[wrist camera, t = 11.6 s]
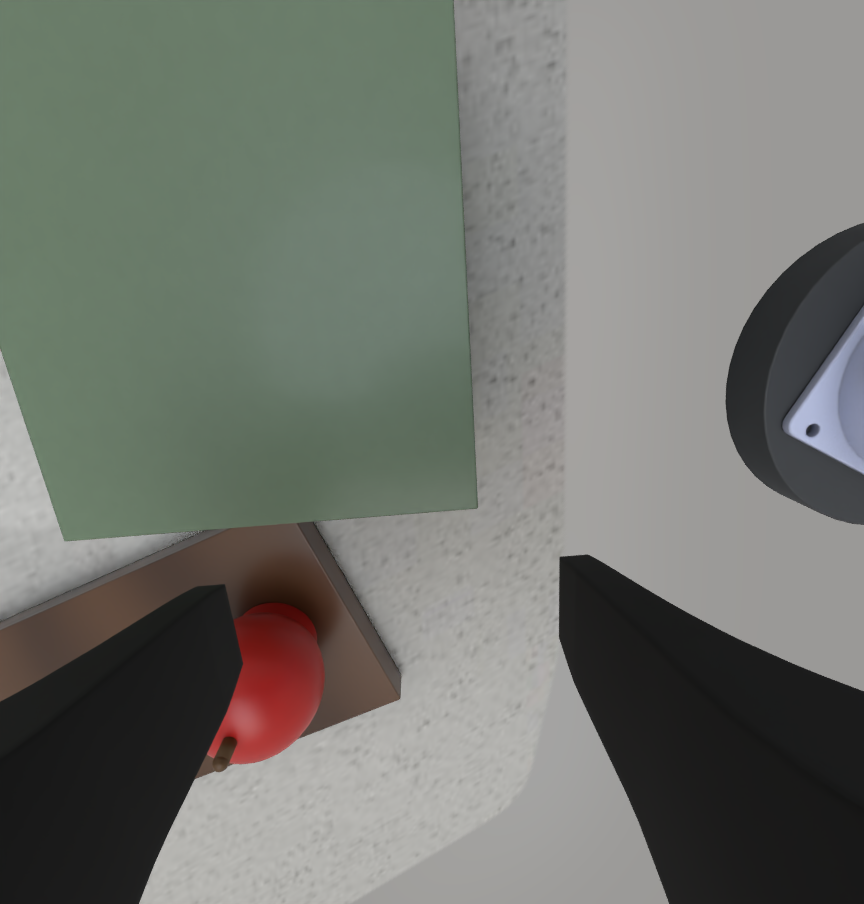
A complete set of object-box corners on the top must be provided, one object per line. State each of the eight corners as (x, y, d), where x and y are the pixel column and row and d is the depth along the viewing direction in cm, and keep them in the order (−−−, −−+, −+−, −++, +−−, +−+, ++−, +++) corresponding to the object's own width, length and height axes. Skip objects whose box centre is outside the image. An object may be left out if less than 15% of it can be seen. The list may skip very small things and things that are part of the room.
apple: (353, 611, 20) (326, 737, 14) (309, 698, 21) (267, 847, 15) (240, 567, 19) (160, 680, 13) (202, 660, 20) (112, 801, 14)
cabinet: (100, 90, 16) (-147, -89, 9) (434, 67, 16) (447, -129, 9) (188, 464, 19) (63, 542, 13) (457, 443, 20) (478, 509, 13)
